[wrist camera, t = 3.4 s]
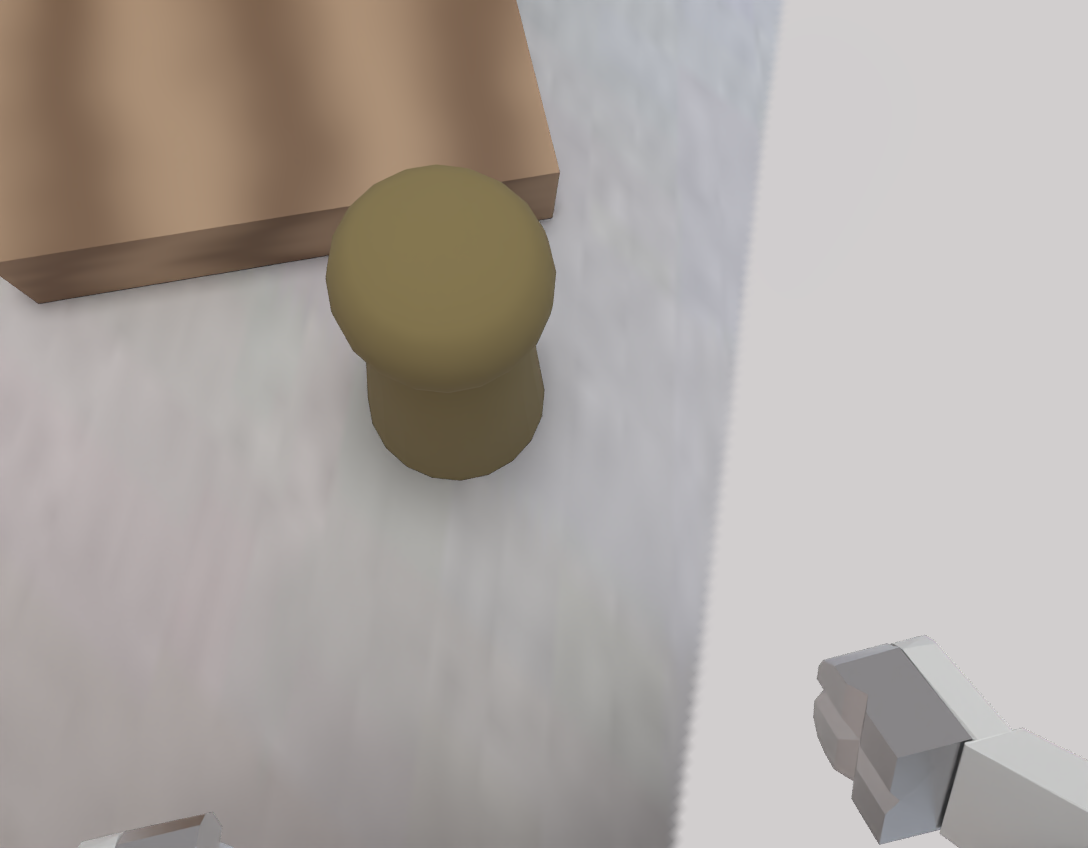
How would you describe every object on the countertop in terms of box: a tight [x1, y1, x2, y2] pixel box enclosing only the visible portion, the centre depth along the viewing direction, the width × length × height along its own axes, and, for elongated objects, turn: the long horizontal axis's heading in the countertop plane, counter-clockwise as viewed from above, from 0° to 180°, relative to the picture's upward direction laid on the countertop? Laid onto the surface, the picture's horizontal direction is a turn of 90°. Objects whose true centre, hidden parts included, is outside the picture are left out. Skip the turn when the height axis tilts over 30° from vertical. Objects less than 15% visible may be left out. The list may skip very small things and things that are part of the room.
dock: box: [0, 0, 560, 304], centre depth 27 cm, size 18×14×5 cm
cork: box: [326, 164, 556, 480], centre depth 22 cm, size 6×6×11 cm
